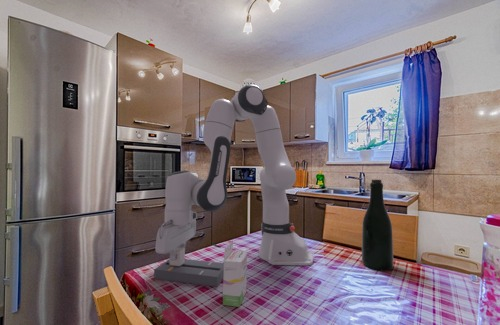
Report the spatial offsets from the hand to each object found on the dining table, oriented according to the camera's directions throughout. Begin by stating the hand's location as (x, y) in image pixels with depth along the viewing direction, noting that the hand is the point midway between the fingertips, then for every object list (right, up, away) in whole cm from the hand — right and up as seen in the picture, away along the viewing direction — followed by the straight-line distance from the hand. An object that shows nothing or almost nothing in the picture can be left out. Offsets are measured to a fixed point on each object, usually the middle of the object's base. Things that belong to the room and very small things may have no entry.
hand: (177, 257), depth 76 cm
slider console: (+6, -5, -1) cm, 8 cm away
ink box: (+21, -5, -14) cm, 26 cm away
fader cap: (0, -4, 0) cm, 4 cm away
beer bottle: (+74, -7, +8) cm, 75 cm away
